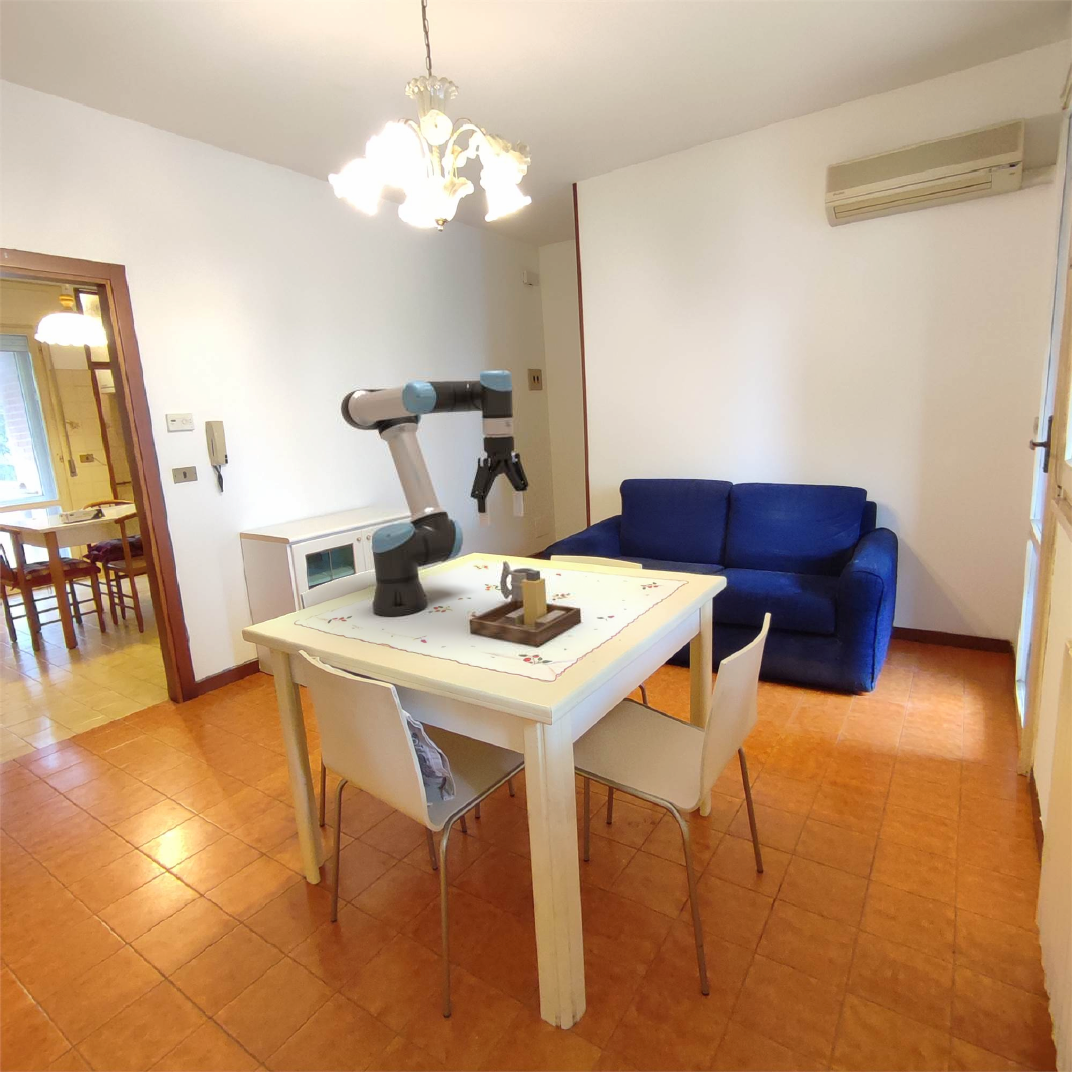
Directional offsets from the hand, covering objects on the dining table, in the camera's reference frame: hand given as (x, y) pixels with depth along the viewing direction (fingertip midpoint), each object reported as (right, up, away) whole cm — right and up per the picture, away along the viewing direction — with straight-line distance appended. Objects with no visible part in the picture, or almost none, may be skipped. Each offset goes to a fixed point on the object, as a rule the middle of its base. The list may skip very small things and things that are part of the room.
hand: (502, 520), depth 157 cm
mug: (+4, -23, +15) cm, 28 cm away
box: (+6, -26, -4) cm, 27 cm away
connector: (+9, -26, -6) cm, 28 cm away
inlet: (+9, -27, -5) cm, 29 cm away
